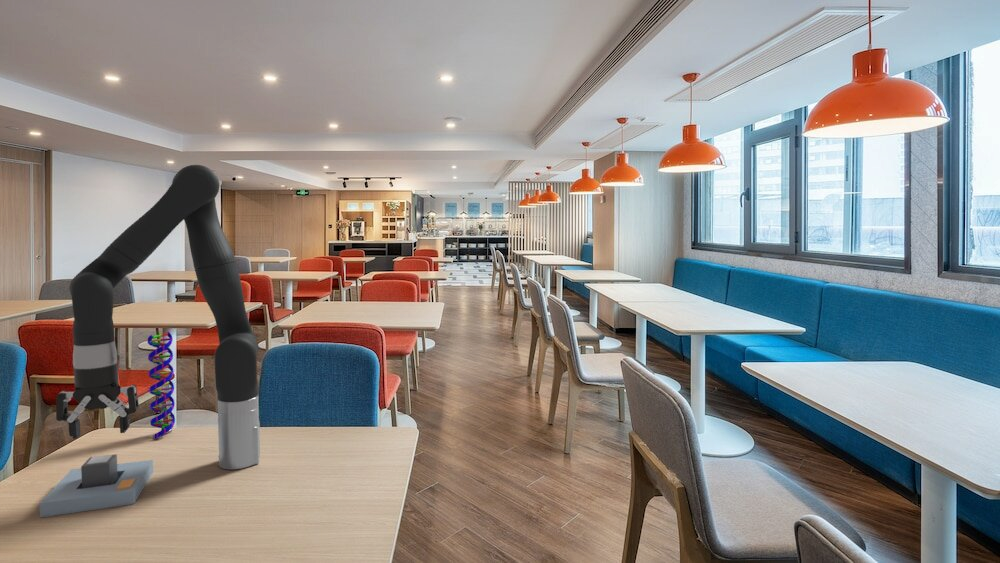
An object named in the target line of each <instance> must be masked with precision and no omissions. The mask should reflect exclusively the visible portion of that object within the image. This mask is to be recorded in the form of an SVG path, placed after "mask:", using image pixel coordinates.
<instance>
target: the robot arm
mask: <svg viewBox="0 0 1000 563" xmlns="http://www.w3.org/2000/svg"><path fill="white" fill-rule="evenodd" d="M219 191H220V180H219V178H218V175H217V173H215V172H214V170H212V169H211V168H209V167H208V166H205V165H201V164H190V165H186V166H184V167H182V168H181V169H179V171H177V173H176V174H175V175H174V177H173V179H172V182H171V184H170V186H169V187H168V189H167V190H166V191H165V193H164V194H163V195H162V197H160V199H159V200H158V201H157V202H156V203H155V204H154V205H153V206H152V207H150V209H148V210H147V211H146V212H145V213H144V214H143V215H141V216H140V217H139V218H138V219H137V220H135V221H134V222H133V223H132V224H131V225H130V226H128V227H127V228H126V229H125V230H124V231H123V232H122V233H120V234H119V236H117V238H115V239H114V240H113V241H112V242H111V243H110V244H109V245H108V246H107V247H106V248H105V249H104V250H103V252H102V253H100V255H99V256H98V257H97V258H95V259H93V261H92V262H91V261H90V263H88V265H86V266H85V267H84V268H83V269H82V270H81V271H79V272H78V273H76V275H75V276H74V277H73V278H72V279H71V281H70V282H69V288H68V289H69V294H70V295H71V304H72V312H73V324H72V341H73V351H72V365H73V375H74V376H73V378H74V388H75V389H74V391H67V390H62V391H60V392H59V393H58V394H56V400H55V403H56V406H55V407H56V408H55V411H56V412H55V414H56V417H55V418H56V421H58V422H61V421H64V422H67V424H68V434H69V437H72V439H73V440H75V439H79V438H80V437H81V422H80V418H79V417H80V416H81V414H82V413H83V412H84V411H85V409H86V410H88V411H93V410H96V409H101V410H103V409H105V410H106V409H107V408H110V409H111V411H113V412H115V413H117V414H118V415H119V416H120V417H119V418H118V419H119V432H120V434H125V433H126V432H127V430H129V428H130V427H131V422H130V420H131V419H130V415H131V414H134V413H136V412H137V411H138V410H139V408H140V406H139V405H140V404H139V403H140V402H139V397H138V389H137V385H136V384H131V385H130V386H123V387H121V386H120V383H119V368H118V366H119V365H118V352H117V350H118V349H117V345H116V342H115V325H114V321H113V314H114V288H115V287H116V286H117V285H118V284H119V283H120V282H121V281H122V280H123V279H124V278H125V277H126V276H128V275H130V274H132V273H133V272H135V271H136V270H137V269H138V268H139V267H140V266H141V265H142V264H143V263H144V262H145V261H146V260H147V259H148V258H149V257H150V256H151V255H152V254H153V253H154V252H155V251H156V249H157V248H159V246H160V245H161V244H162V243H163V242H164V240H165V239H166V238H167V237H168V236H169V235H170V234H172V232H173V231H174V230H175V229H176V228H177V227H178V226H179V224H181V223H182V222H183V221H184V223H185V227H186V230H187V238H188V242H189V244H188V245H189V250H190V253H191V258H192V263H193V268H194V271H195V276H196V279H197V284H198V286H199V289H200V291H201V294H202V296H203V297H204V300H205V301H206V303H207V305H208V307H209V309H210V311H211V312H212V315H213V317H214V320H215V325H216V329H217V330H216V331H217V333H218V334H217V335H218V344H219V345H218V346H217V348H216V349H215V353H214V374H215V376H214V377H215V380H214V381H215V389H216V390H215V391H216V393H217V425H218V426H217V429H218V430H217V431H218V434H217V435H218V466H219V467H220V468H221V469H223V470H240V469H245V468H248V467H251V466H254V465H258V464H259V463H260V457H261V439H260V438H261V437H260V435H261V433H260V432H261V431H260V429H261V428H260V427H261V426H260V416H259V413H260V411H259V409H260V408H259V383H258V363H257V359H258V358H257V357H258V355H259V350H260V348H259V344H258V342H257V341H258V340H257V339H256V338H257V337H256V335H255V334H254V331H253V329H252V326H251V323H250V320H249V318H248V315H247V311H246V306H245V305H246V304H245V297H244V292H243V286H242V282H241V275H240V271H239V268H238V267H239V266H238V264H237V260H236V257H235V256H236V255H235V253H234V250H233V249H232V247H231V244H230V242H229V240H228V238H227V236H226V234H225V232H224V231H223V229H222V226H221V223H220V220H219V216H218V212H217V211H218V210H217V204H216V197H217V196H218V194H219ZM122 393H123V395H124V396H125V397H126V398H127V399H128V400H127V401H128V407H127V406H126V405H125V404H124V402H123V401H122V399H120V398H119V395H121V394H122ZM72 398H73V399H74V400H75V401H76V402H77V403H79V404H78V405H77V406H76V407H75V409H74V410H73V411H72V412H71V413H69V412H68V411H69V402H70V401H72Z"/></svg>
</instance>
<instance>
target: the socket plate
mask: <svg viewBox="0 0 1000 563" xmlns="http://www.w3.org/2000/svg"><path fill="white" fill-rule="evenodd" d="M117 473H118V481H117V482H116V484H113V485H106V486H98V487H90V488H83V489H82V473H81V467H80V468H73V469H70V470H69V471H68V473H67V474H66V475H65V476H64V477H63V478H62V479H61V480H60V481H59V482H58V483H57V484H56V485H55V487H53V488H52V490H51V491H50V492H48V494H47V495H45V497H44V498H43V499H42V500H41V501H40V502H39V503H38V504H39V518H47V517H52V516H53V517H54V516H59V515H67V514H73V513H80V512H81V513H82V512H87V511H93V510H100V509H109V508H114V507H120V506H121V507H122V506H128V505H133V504H135V503H136V501H137V500H138V498H139V497H140V494H141V493H142V491H143V490H144V488H145V486H146V485H147V483H148V481H149V480H150V478H151V476H152V474H153V473H154V459H148V460H139V461H133V462H132V461H131V462H124V463H117Z"/></svg>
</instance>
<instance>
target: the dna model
mask: <svg viewBox="0 0 1000 563" xmlns="http://www.w3.org/2000/svg"><path fill="white" fill-rule="evenodd" d="M163 337H165V338H163ZM166 337H167V338H166ZM165 341H167V342H165ZM172 343H173V335H172V334H171V332H170V331H167V332H166V333H162V334H161V333H160V334H156V335H152V334H151V335H149V336H148V337H147V344H148V345H149V346H151V347H154V348H156V349H154V350H152V351H151V352H149V353H148V355H147V359H148V361H149V362H151V363H152V364H153V363H154V364H157V366H154V367H152V368H151V369H150V370H149V371H148V376H149V377H150V378H151V379H153V380H157V382H156V383H154V384H152V385H151V386H149V387H148V388H149V389H148V392H149V394H151V395H154V396H158V397H159V398H157V399H156V400H153V401H152V402H151V403H149V409H150V410H151V411H154V412H158V413H160V414H158V415H157V416H155V417H153V418H151V419H150V422H149V423H150V425H151V426H152V427H155V428H158V429H160V431H158V432H156V433H155V434H154V436H153V437H154V440H156V439H158V438H160V437H163V435H165V434H168V433H169V432H170V433H172V431H169V430H170V429H173V427H174V425H175V422H176V417H175V414H174V413H173V412H172V411H173V410H174V408H175V399H174V398H173V397H172V394H174V391H175V385H174V383H173V381H172V380H171V379H172V378H173V376H174V368H173V367H174V366H173V365H171V364H170V363H171V362H172V361H173V357H174V353H173V351H172V349H171V348H170V347H171V345H172ZM166 353H168V354H166ZM163 354H166V355H163ZM164 358H165V359H164ZM166 358H167V359H166ZM164 369H169V370H170V371H162V372H161V370H164ZM159 371H160V372H159ZM165 375H167V376H165ZM166 385H170V387H162V386H166ZM160 387H161V388H160ZM165 391H168V392H165ZM169 401H170V402H169ZM166 402H169V403H166ZM163 403H164V404H163ZM169 406H170V407H169ZM165 407H169V408H165ZM167 417H170V419H169V418H168V419H164V418H167ZM162 419H163V420H162ZM168 422H170V423H169V424H168Z"/></svg>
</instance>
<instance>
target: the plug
mask: <svg viewBox="0 0 1000 563" xmlns="http://www.w3.org/2000/svg"><path fill="white" fill-rule="evenodd" d="M117 456H118V454H116V453H115V454H107V455H98V456H90V457H89V458H88V459H87V460H86V461H85V462H84V463H83V464H82V465H81V466H80V468H81V473H82V489H83V488H90V487H98V486H106V485H113V484H116V482H117V481H118V473H117V464H118V457H117Z"/></svg>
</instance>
